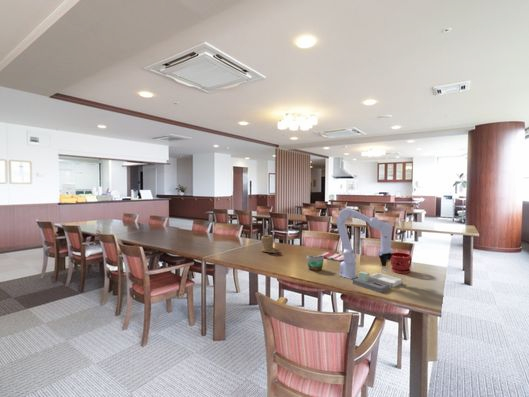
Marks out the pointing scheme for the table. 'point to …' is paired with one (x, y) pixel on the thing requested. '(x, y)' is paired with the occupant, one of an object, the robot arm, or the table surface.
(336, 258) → the dish towel
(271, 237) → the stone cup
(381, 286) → the grey flat slab
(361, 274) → the fuse
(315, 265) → the food container
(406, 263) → the plant pot
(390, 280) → the parts tray
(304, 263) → the table surface
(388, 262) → the fuse
